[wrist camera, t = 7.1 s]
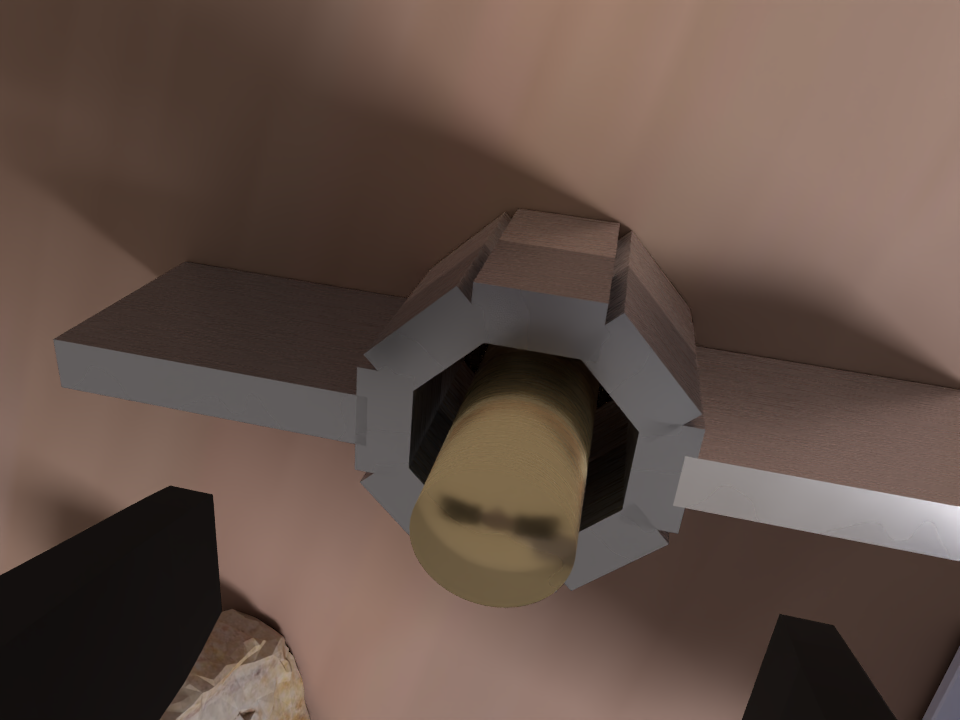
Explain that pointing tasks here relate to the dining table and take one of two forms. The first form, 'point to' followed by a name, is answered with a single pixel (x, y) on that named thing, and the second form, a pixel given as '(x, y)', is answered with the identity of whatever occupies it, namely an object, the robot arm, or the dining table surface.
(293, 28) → the dining table surface
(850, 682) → the robot arm
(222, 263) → the dining table surface
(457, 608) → the dining table surface
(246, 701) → the mineral specimen
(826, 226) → the dining table surface
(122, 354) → the hinge
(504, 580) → the hinge pin
